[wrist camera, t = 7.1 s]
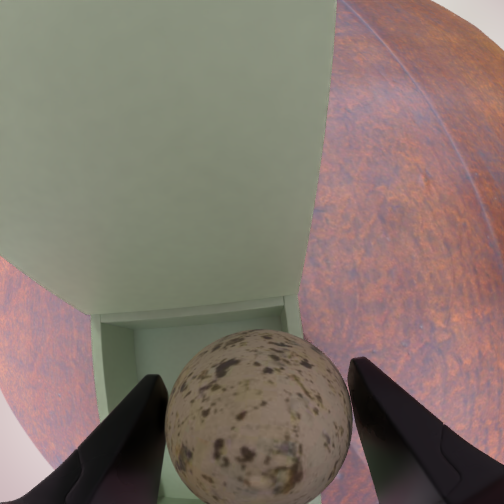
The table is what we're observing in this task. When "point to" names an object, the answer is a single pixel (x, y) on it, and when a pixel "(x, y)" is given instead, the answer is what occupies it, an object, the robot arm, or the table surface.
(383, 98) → the table surface
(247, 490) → the decorative egg
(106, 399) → the chest
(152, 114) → the chest lid
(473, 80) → the table surface
